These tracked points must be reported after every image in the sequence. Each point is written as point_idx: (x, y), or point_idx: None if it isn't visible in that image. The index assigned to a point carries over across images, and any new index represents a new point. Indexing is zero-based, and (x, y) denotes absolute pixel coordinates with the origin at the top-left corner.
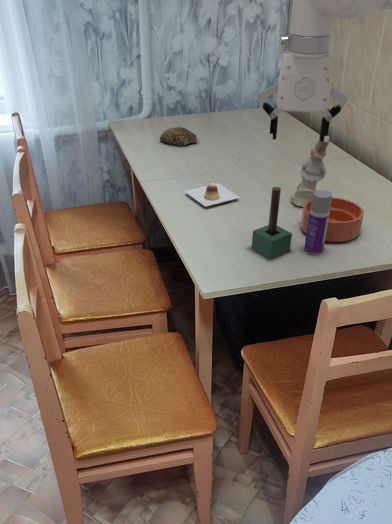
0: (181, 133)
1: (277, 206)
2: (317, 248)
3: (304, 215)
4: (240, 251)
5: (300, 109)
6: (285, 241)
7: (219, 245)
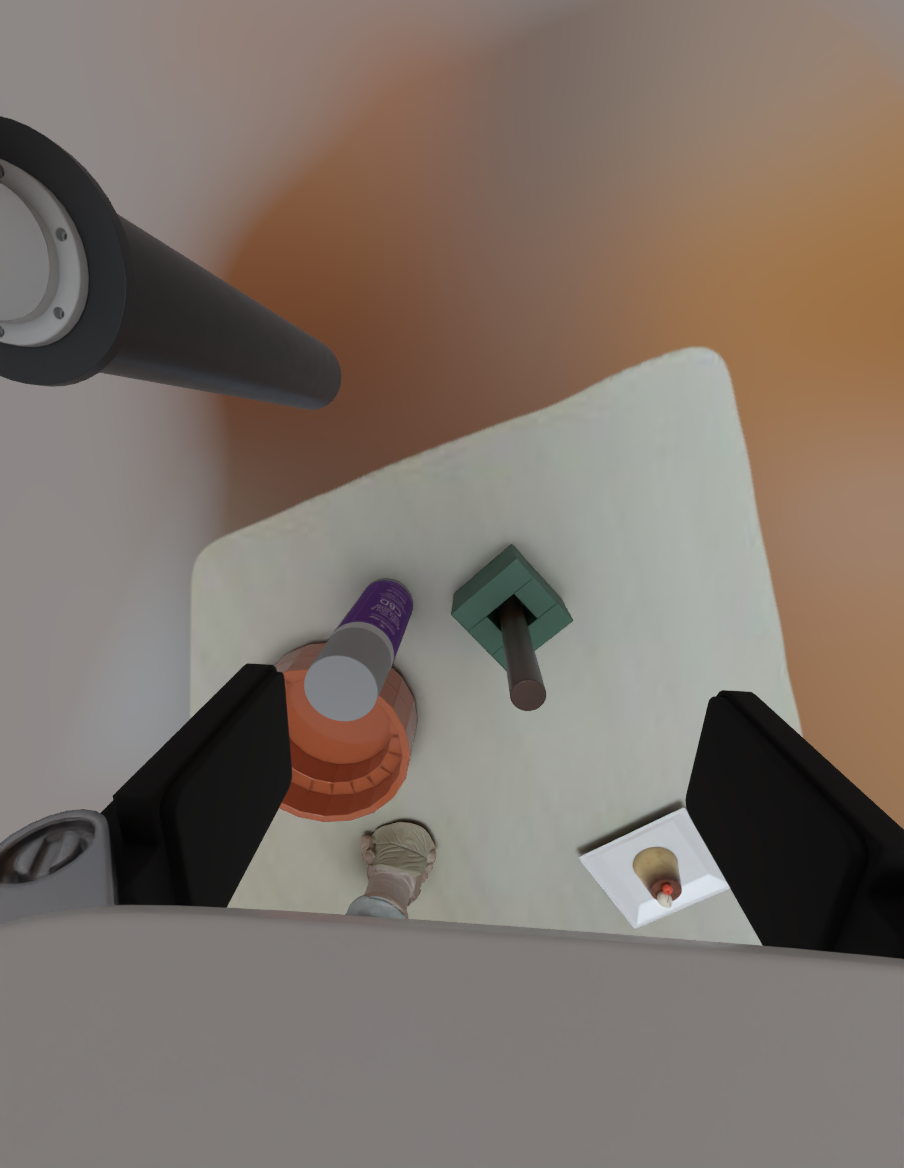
0: None
1: (512, 651)
2: (376, 585)
3: (407, 724)
4: (594, 583)
5: (594, 969)
6: (470, 591)
7: (653, 612)
